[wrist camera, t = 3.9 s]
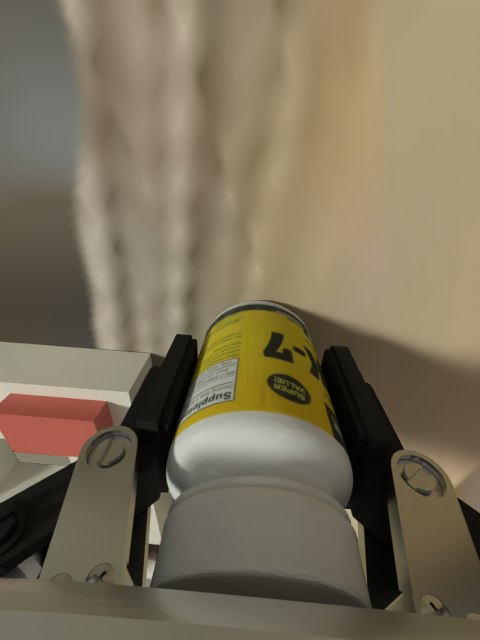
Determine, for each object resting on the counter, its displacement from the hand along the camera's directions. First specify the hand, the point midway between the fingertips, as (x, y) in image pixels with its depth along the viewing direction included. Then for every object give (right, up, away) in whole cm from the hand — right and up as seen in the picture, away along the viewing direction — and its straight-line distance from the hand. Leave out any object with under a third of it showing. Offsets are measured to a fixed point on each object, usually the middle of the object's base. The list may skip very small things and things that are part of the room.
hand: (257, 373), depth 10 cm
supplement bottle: (0, +1, +2) cm, 2 cm away
